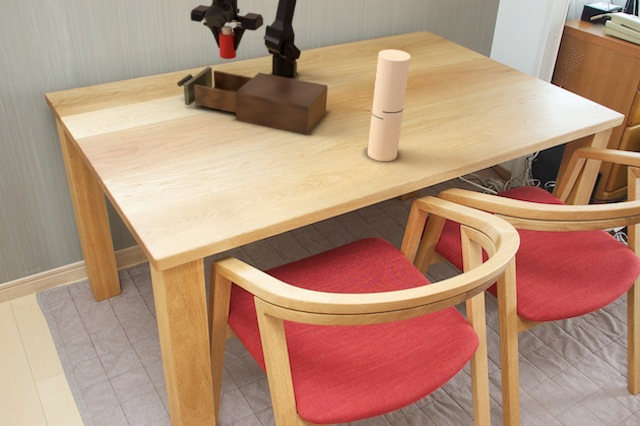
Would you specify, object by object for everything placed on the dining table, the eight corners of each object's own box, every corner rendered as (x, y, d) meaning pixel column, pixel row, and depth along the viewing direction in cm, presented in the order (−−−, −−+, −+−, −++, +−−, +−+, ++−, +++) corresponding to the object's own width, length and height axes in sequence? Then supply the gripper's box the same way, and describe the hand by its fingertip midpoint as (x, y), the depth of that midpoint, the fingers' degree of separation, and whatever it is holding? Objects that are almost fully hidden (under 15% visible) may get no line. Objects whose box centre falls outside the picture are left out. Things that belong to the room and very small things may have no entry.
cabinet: (235, 119, 171) (235, 92, 166) (258, 98, 182) (259, 72, 178) (307, 134, 166) (308, 106, 162) (325, 112, 178) (327, 85, 173)
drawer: (170, 101, 175) (169, 81, 172) (195, 83, 186) (194, 64, 183) (248, 118, 170) (248, 97, 167) (269, 98, 181) (269, 78, 177)
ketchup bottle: (217, 57, 177) (215, 28, 173) (224, 52, 181) (223, 23, 176) (232, 60, 176) (231, 31, 172) (238, 54, 180) (238, 26, 175)
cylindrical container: (395, 163, 156) (409, 62, 142) (365, 158, 157) (376, 58, 143) (398, 149, 162) (411, 51, 148) (369, 145, 163) (380, 47, 149)
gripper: (178, -7, 165) (182, 53, 173) (246, 3, 160) (247, 64, 169) (198, -18, 174) (201, 40, 182) (264, -8, 169) (264, 50, 178)
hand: (227, 49), depth 178 cm, fingers closed on ketchup bottle, 4 cm apart
